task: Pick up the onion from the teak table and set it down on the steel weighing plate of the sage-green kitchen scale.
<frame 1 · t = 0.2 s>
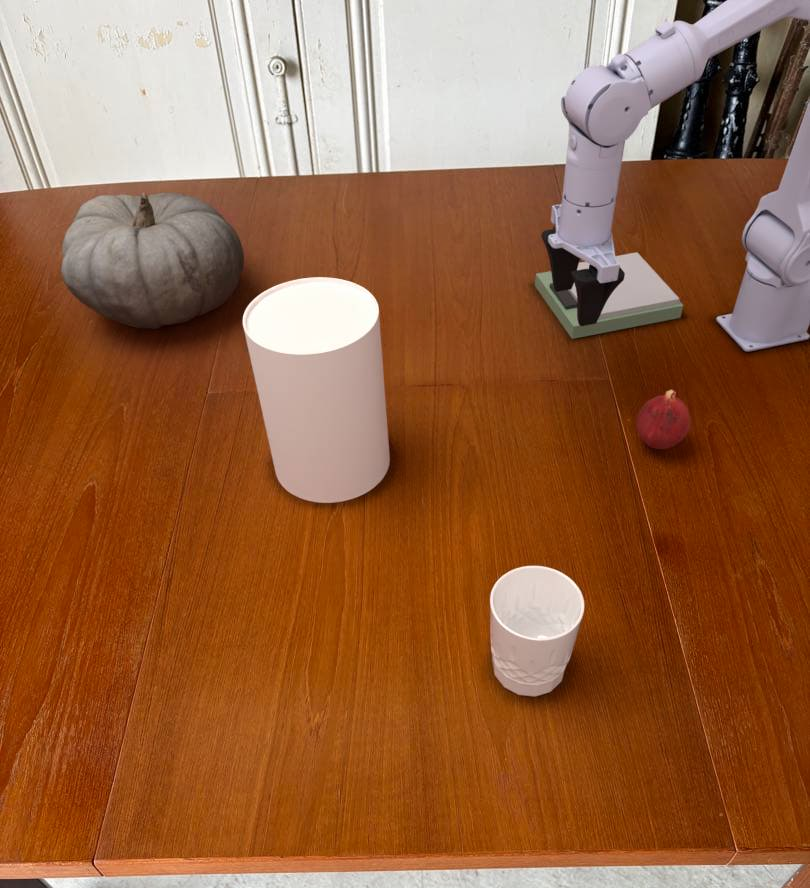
hand: (574, 305, 97), 10 cm above the table, tool pointing down, fingers open, 7 cm apart
white cup: (528, 667, 76), on the table
onion: (656, 448, 95), on the table
scale: (605, 301, 116), on the table
canister: (332, 462, 96), on the table
gourd: (164, 304, 120), on the table
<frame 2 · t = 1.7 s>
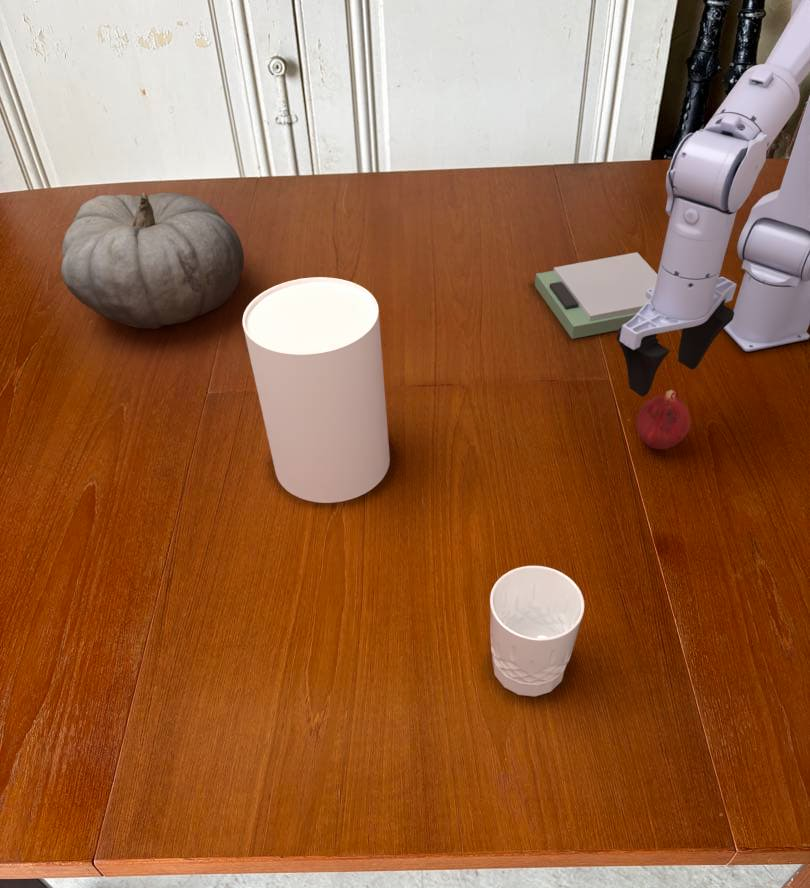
hand: (662, 377, 89), 9 cm above the table, tool pointing down, fingers open, 7 cm apart
nothing on the table moved.
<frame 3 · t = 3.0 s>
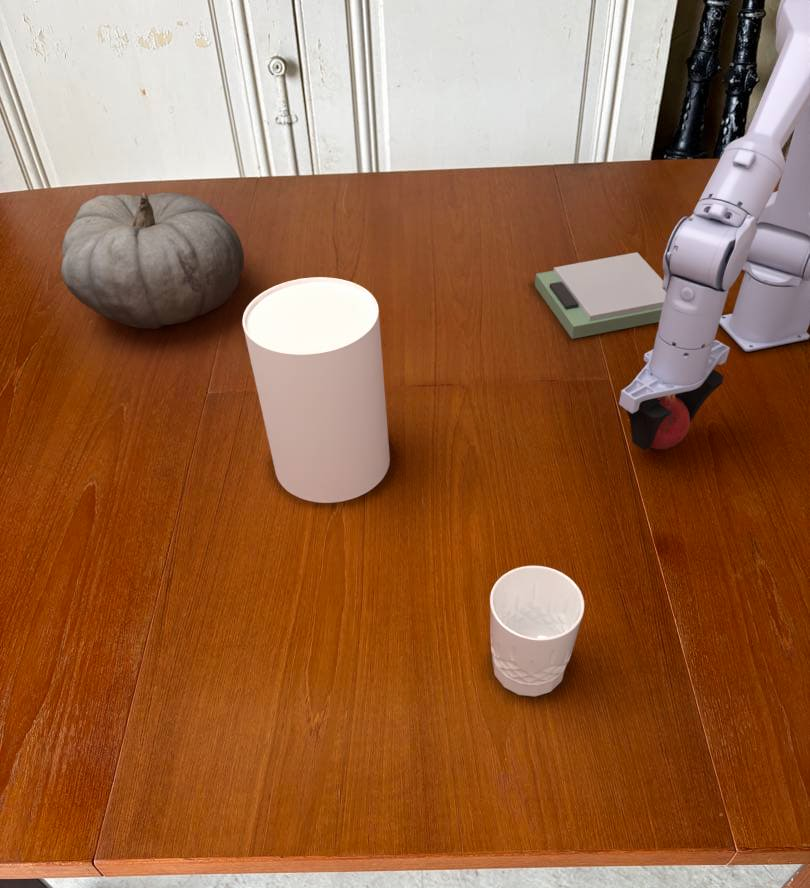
hand: (660, 433, 94), 2 cm above the table, tool pointing down, fingers closed on onion, 6 cm apart
onion: (656, 448, 95), on the table, touching gripper
everything else where it was.
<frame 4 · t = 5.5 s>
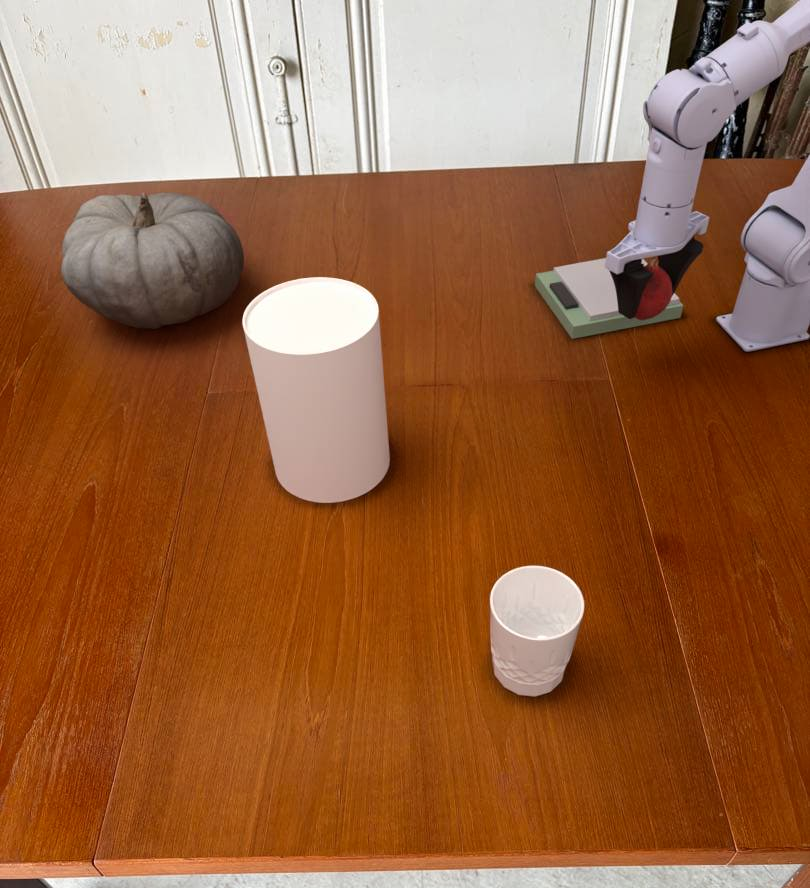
hand: (645, 305, 99), 9 cm above the table, tool pointing down, fingers closed on onion, 6 cm apart
onion: (641, 321, 100), point 7 cm above the table, touching gripper
everything else where it was.
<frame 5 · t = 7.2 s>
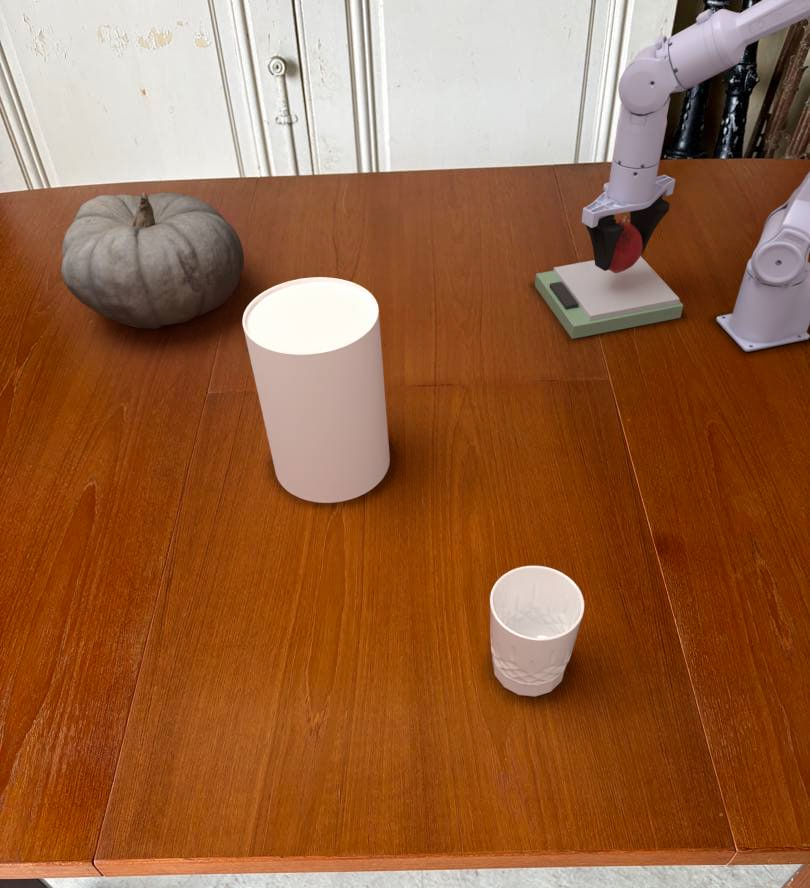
hand: (619, 259, 111), 6 cm above the table, tool pointing down, fingers closed on onion, 6 cm apart
onion: (615, 274, 113), point 4 cm above the table, touching gripper
everything else where it was.
when the fingers open (5 cm above the table, at t = 8.3 s): onion stays where it is, resting on scale.
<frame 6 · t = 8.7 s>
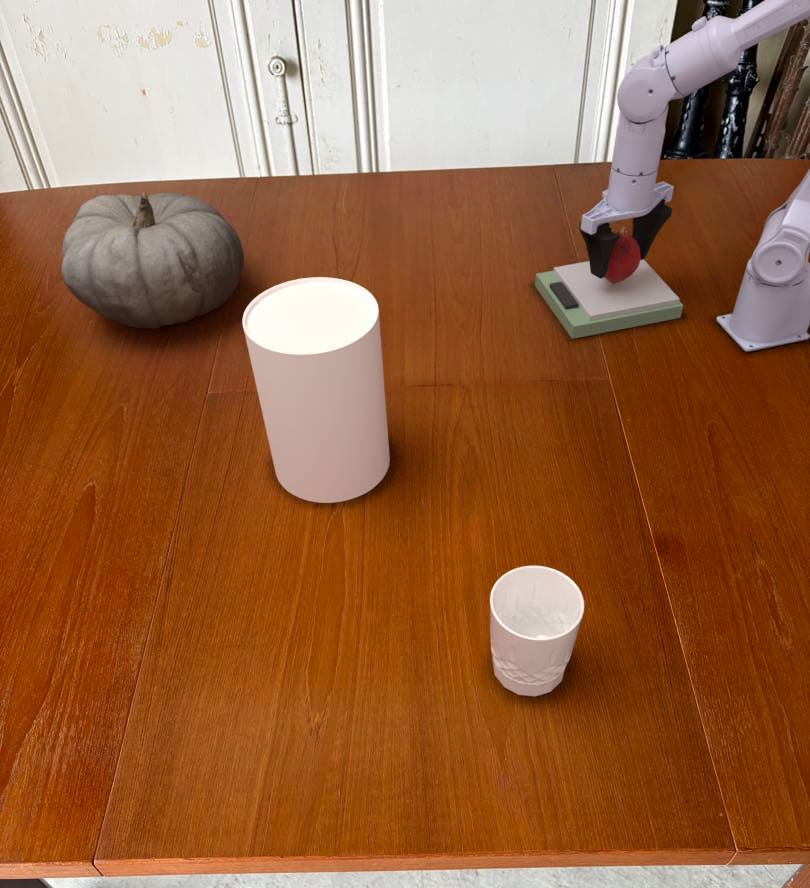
hand: (617, 265, 112), 5 cm above the table, tool pointing down, fingers open, 7 cm apart
onion: (614, 283, 114), point 3 cm above the table, touching scale
everything else where it was.
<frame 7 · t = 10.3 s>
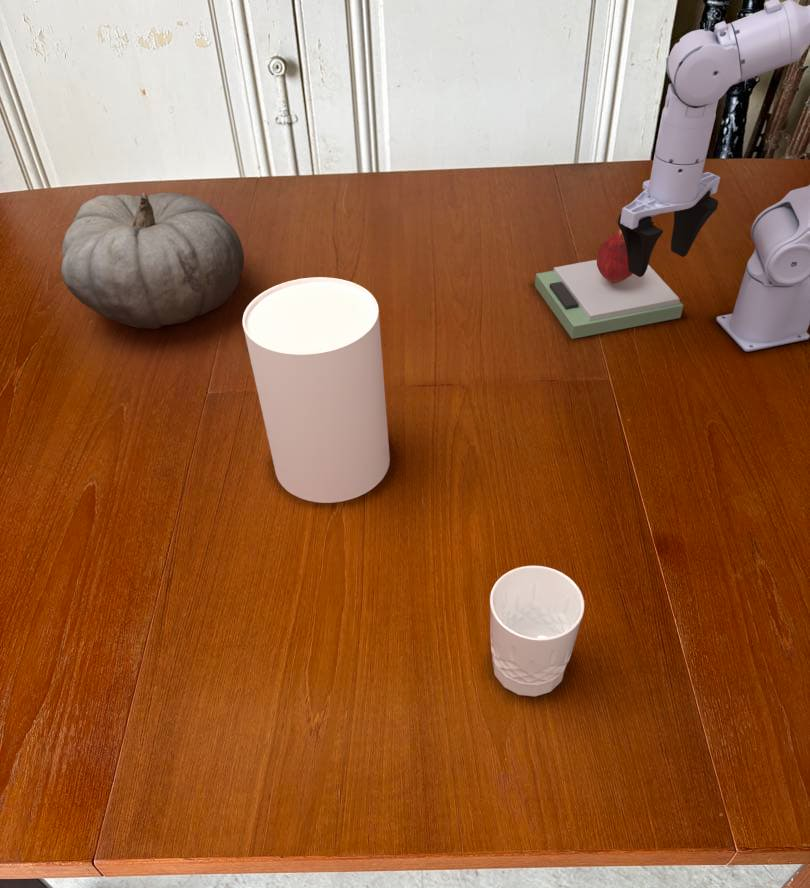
hand: (657, 263, 103), 10 cm above the table, tool pointing down, fingers open, 7 cm apart
nothing on the table moved.
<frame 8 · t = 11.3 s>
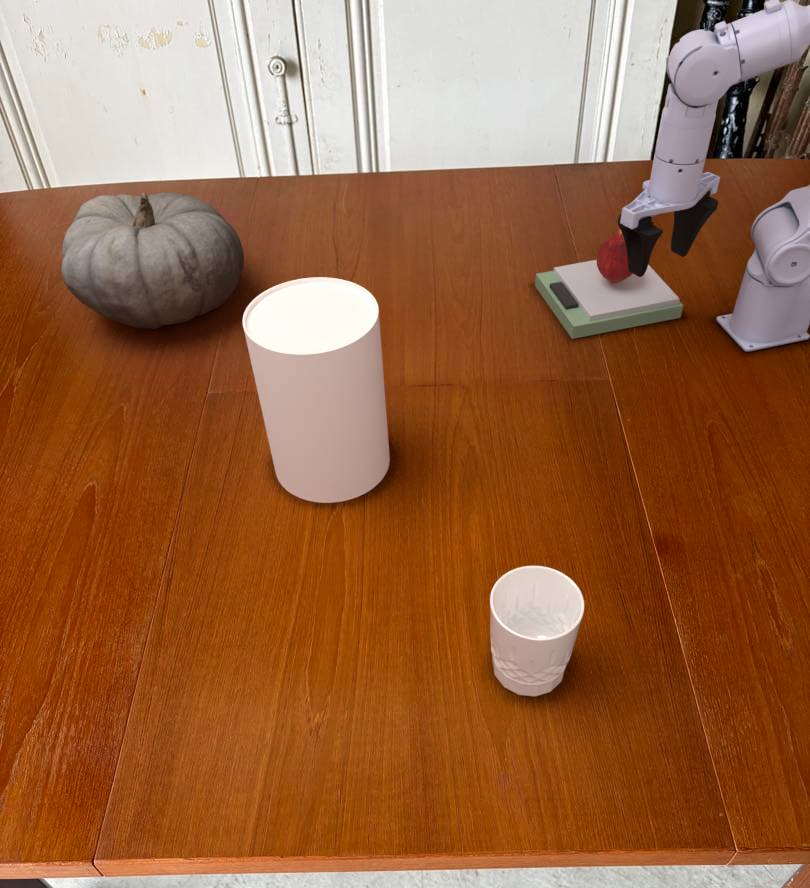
hand: (657, 263, 103), 10 cm above the table, tool pointing down, fingers open, 7 cm apart
nothing on the table moved.
at the end: onion inside the target area on the scale (0.1 cm from its centre), point 2.6 cm above the scale's base; the gripper is holding nothing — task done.
